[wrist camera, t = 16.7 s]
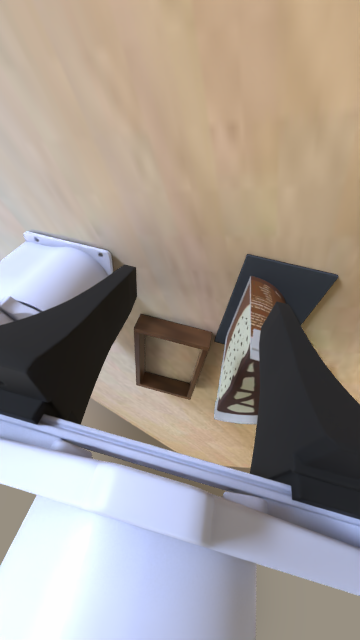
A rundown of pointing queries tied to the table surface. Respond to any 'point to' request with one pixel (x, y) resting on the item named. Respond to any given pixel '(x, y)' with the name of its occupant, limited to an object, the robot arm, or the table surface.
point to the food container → (244, 355)
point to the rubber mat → (279, 287)
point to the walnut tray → (174, 334)
